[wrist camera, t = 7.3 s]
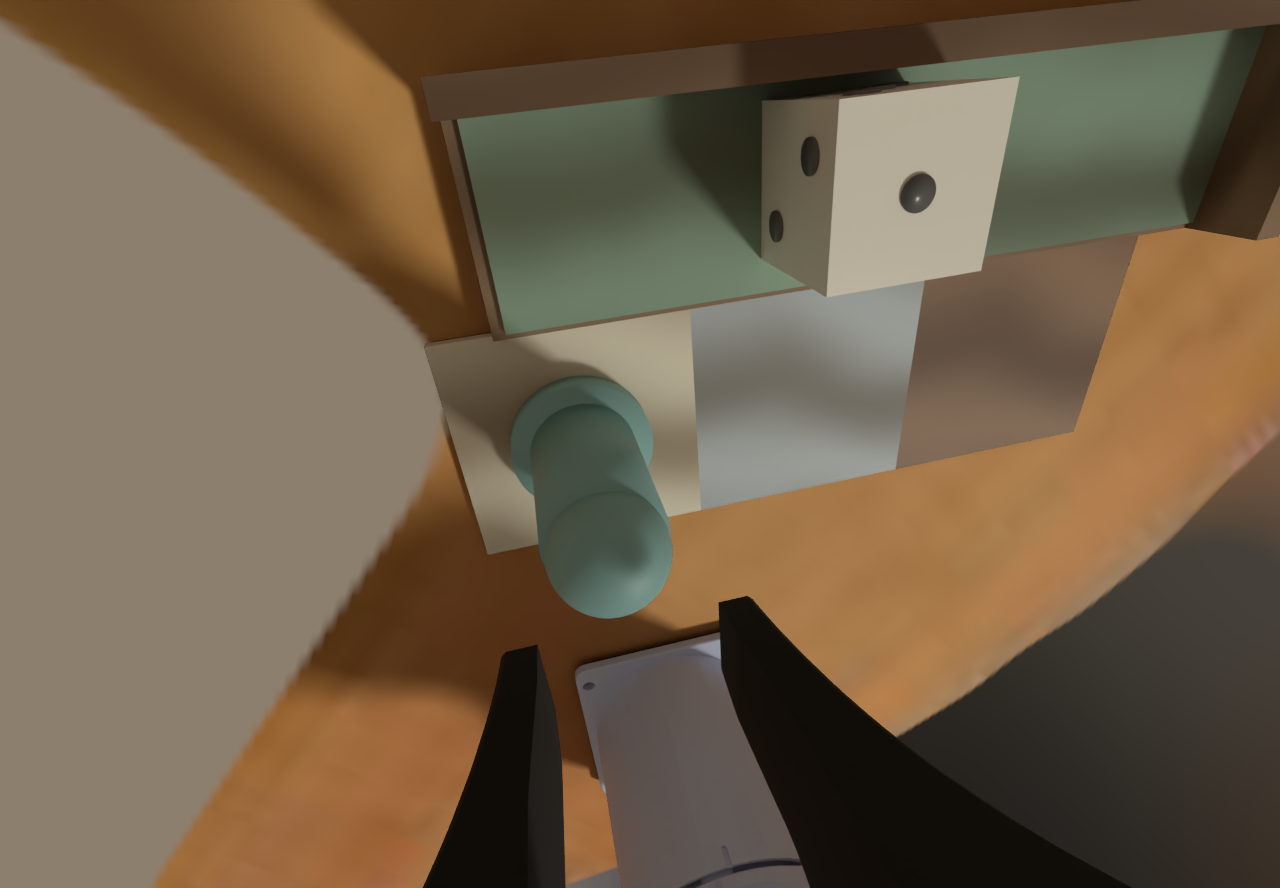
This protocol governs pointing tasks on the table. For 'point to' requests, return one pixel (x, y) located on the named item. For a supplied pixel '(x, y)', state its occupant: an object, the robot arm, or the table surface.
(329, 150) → the table surface
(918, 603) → the table surface
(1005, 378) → the track
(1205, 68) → the dice tray
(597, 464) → the pawn
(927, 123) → the die
